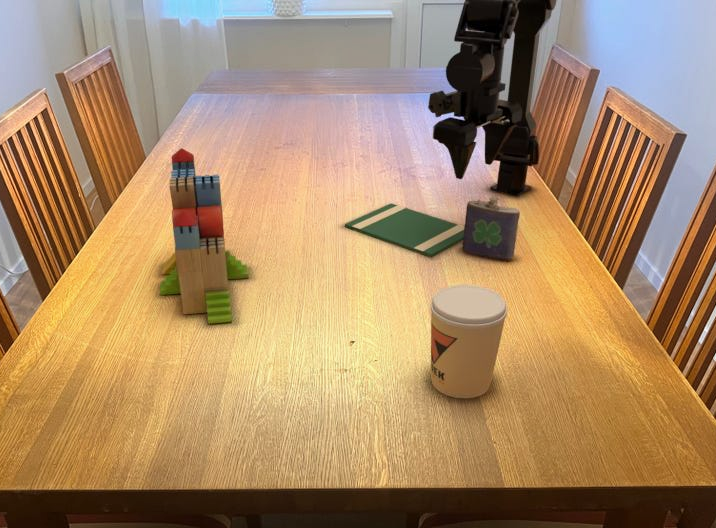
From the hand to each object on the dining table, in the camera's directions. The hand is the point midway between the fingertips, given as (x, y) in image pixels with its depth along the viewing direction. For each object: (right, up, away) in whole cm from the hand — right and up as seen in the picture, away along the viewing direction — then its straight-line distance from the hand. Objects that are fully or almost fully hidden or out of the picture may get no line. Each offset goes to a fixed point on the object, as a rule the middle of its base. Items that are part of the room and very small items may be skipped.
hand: (473, 171), depth 129 cm
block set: (-45, -20, -7) cm, 50 cm away
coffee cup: (-8, -36, -31) cm, 48 cm away
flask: (+2, -15, +1) cm, 15 cm away
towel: (-10, -8, +10) cm, 17 cm away
